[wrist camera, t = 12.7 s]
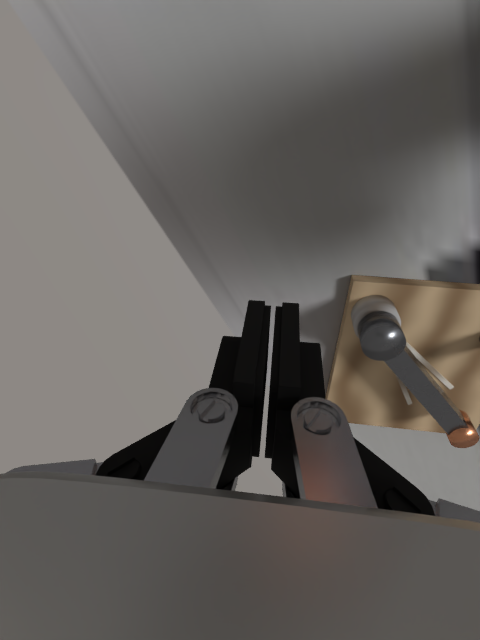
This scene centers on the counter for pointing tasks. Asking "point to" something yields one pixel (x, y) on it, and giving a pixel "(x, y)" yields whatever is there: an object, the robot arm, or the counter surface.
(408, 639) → the robot arm
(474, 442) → the lever
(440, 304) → the base
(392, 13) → the counter surface
